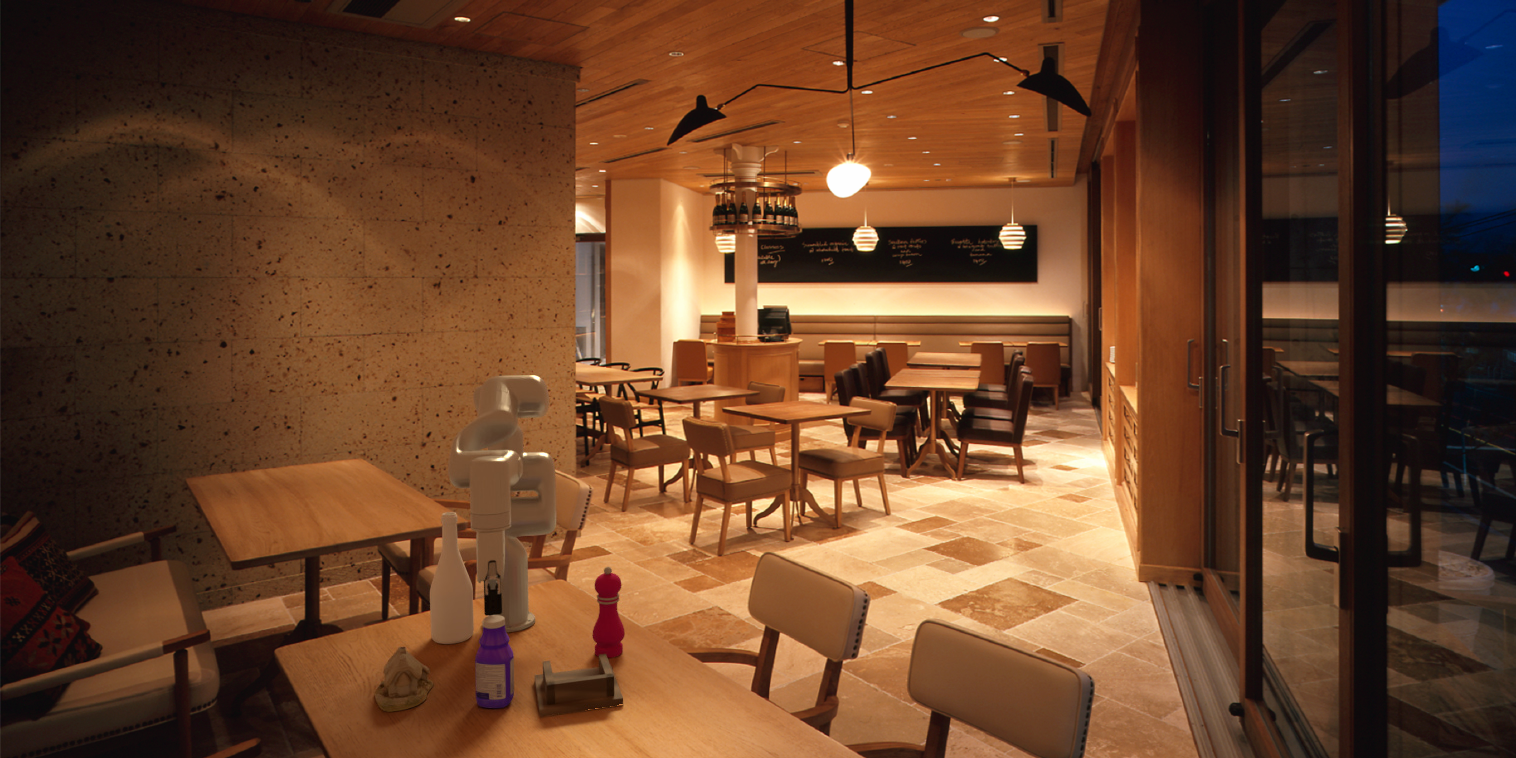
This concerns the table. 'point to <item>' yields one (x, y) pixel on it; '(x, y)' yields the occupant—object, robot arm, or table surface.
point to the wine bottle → (451, 590)
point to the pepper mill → (608, 616)
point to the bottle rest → (577, 689)
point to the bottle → (494, 665)
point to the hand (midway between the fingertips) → (492, 606)
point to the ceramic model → (403, 682)
